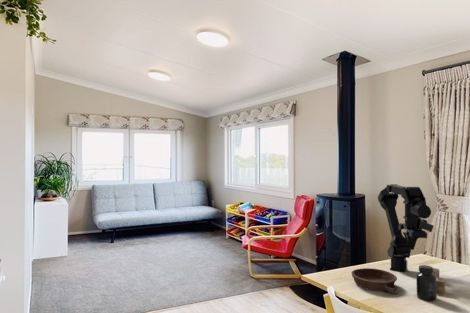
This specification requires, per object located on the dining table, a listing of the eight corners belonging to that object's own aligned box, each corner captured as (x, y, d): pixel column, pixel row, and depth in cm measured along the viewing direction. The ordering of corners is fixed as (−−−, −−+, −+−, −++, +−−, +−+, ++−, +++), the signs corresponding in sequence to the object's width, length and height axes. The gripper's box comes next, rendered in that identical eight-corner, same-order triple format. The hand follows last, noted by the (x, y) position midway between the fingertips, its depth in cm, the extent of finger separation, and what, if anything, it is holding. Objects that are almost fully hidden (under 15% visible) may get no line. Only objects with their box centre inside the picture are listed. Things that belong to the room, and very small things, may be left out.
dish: (366, 275, 160) (366, 264, 160) (410, 290, 141) (410, 278, 141) (339, 281, 152) (339, 270, 152) (382, 299, 133) (382, 286, 133)
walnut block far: (422, 280, 153) (422, 268, 153) (427, 277, 156) (427, 266, 156) (435, 283, 149) (435, 271, 149) (439, 280, 152) (439, 269, 152)
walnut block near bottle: (430, 292, 139) (430, 280, 139) (428, 288, 143) (428, 276, 143) (444, 294, 137) (444, 281, 137) (442, 290, 141) (442, 277, 141)
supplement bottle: (434, 295, 135) (434, 265, 135) (438, 302, 129) (438, 270, 129) (415, 293, 138) (414, 263, 138) (418, 300, 131) (417, 268, 131)
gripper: (440, 218, 144) (440, 256, 144) (422, 211, 163) (423, 245, 163) (412, 218, 146) (412, 255, 146) (397, 211, 164) (398, 244, 164)
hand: (412, 249), depth 155 cm, fingers closed
